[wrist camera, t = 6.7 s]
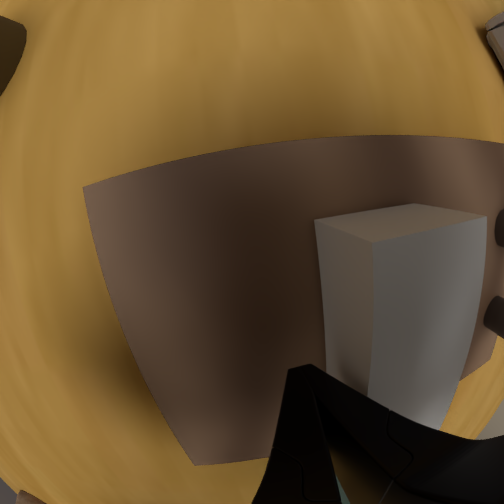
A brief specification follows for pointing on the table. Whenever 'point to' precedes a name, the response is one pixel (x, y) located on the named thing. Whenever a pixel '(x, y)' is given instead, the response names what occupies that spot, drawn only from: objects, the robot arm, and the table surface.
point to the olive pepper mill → (10, 49)
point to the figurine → (27, 499)
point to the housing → (401, 303)
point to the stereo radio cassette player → (496, 36)
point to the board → (265, 266)
